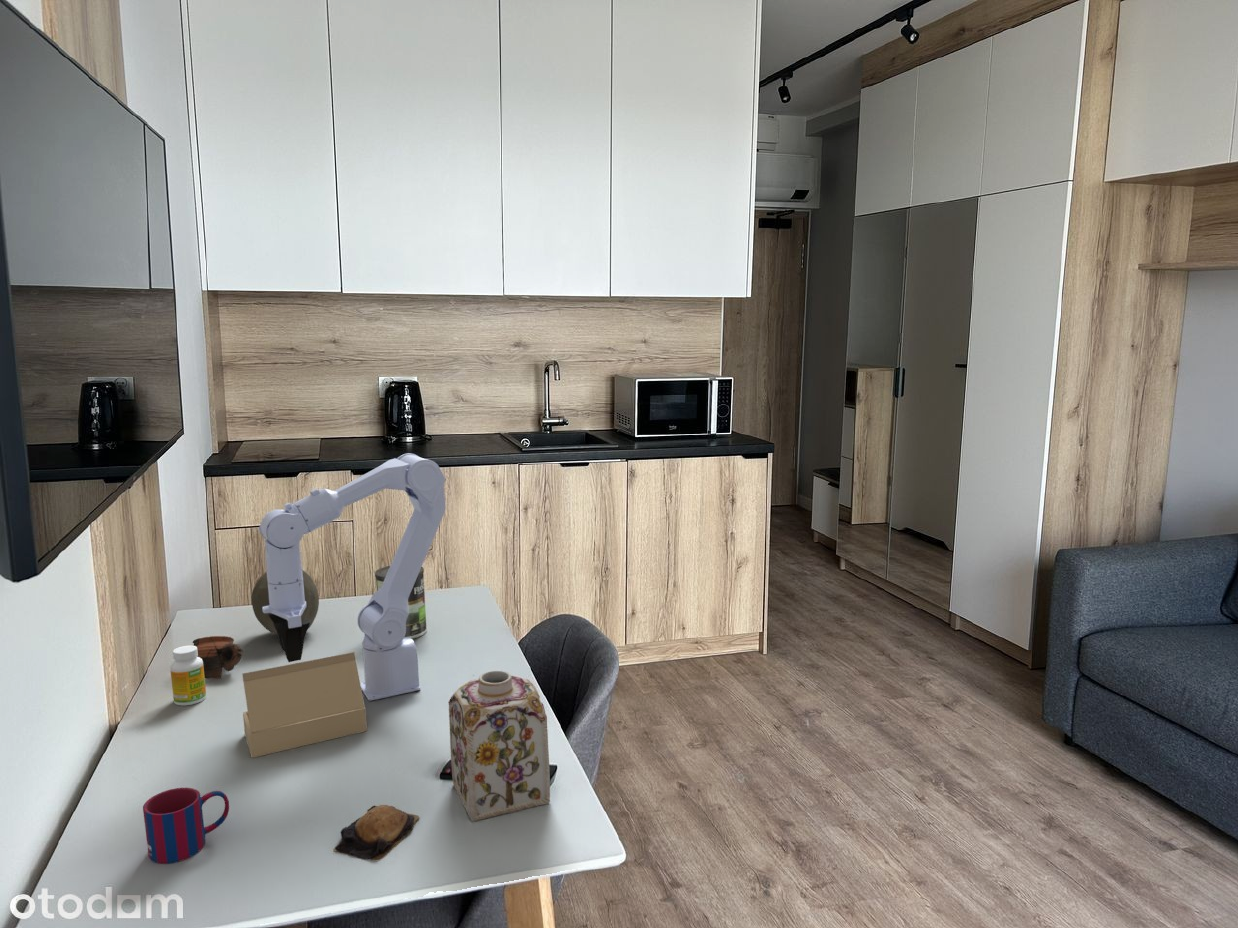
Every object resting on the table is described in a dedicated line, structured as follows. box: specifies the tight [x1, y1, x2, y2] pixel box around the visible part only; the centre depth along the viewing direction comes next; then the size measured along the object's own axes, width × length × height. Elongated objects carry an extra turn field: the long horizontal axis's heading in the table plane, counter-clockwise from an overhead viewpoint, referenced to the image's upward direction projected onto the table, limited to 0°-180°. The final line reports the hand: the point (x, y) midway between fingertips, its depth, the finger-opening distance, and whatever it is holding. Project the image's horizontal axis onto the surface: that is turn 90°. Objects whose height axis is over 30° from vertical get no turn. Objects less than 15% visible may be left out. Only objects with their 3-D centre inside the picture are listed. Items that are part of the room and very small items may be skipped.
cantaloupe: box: [251, 569, 320, 636], centre depth 194 cm, size 14×14×15 cm
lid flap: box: [242, 651, 366, 733], centre depth 146 cm, size 18×10×1 cm
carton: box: [242, 707, 368, 759], centre depth 149 cm, size 18×9×4 cm, turn 119°
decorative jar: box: [448, 670, 551, 822], centre depth 128 cm, size 12×12×18 cm
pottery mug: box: [192, 635, 243, 680], centre depth 175 cm, size 12×10×8 cm
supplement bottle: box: [169, 645, 207, 707], centre depth 162 cm, size 5×5×10 cm
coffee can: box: [374, 565, 428, 640], centre depth 194 cm, size 10×10×14 cm
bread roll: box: [332, 804, 420, 861], centre depth 119 cm, size 11×8×4 cm
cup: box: [142, 787, 230, 865], centre depth 117 cm, size 7×10×7 cm
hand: (291, 654), depth 155 cm, fingers open, 5 cm apart
